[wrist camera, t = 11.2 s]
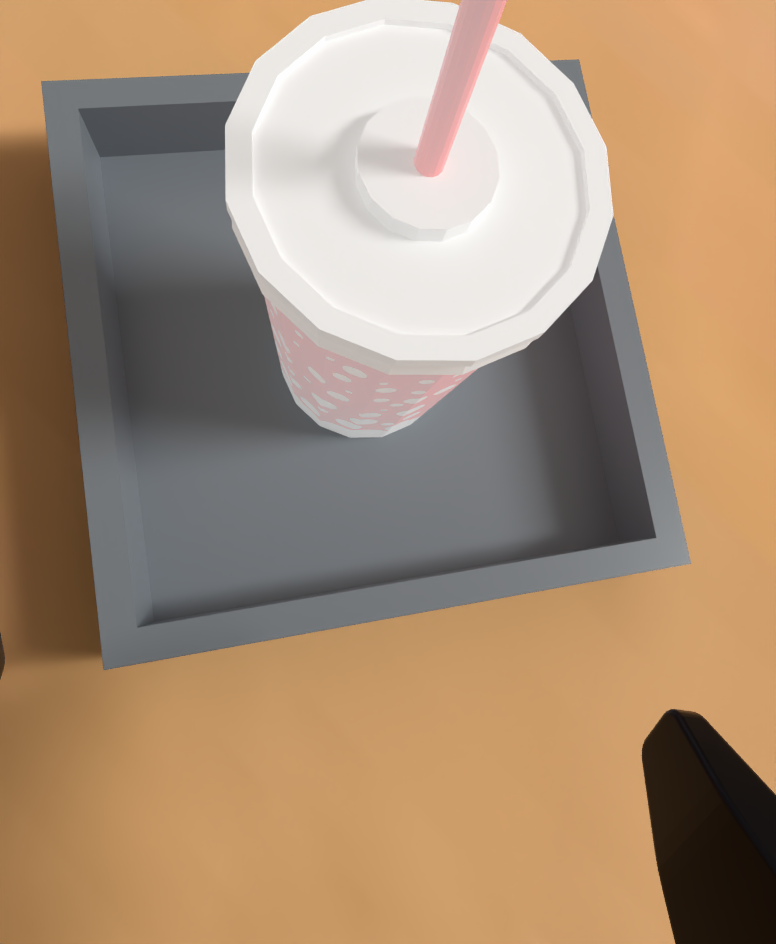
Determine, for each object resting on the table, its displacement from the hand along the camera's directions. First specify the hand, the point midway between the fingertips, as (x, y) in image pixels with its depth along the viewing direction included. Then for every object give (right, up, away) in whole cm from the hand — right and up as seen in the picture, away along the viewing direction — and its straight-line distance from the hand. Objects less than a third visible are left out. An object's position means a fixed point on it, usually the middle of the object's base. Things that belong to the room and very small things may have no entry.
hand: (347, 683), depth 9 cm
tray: (0, +6, +11) cm, 13 cm away
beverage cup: (0, +6, +10) cm, 12 cm away
